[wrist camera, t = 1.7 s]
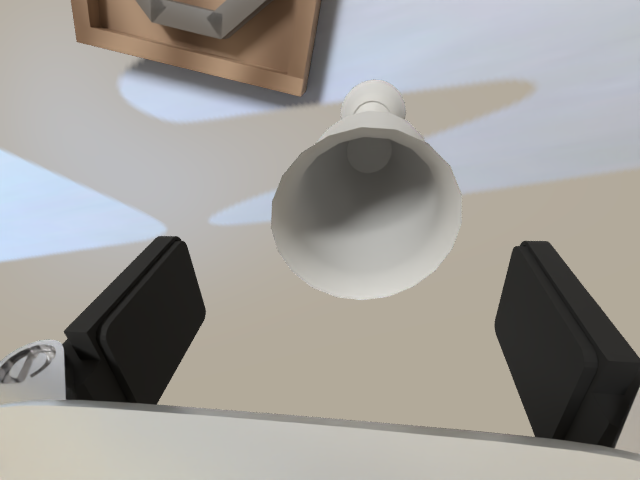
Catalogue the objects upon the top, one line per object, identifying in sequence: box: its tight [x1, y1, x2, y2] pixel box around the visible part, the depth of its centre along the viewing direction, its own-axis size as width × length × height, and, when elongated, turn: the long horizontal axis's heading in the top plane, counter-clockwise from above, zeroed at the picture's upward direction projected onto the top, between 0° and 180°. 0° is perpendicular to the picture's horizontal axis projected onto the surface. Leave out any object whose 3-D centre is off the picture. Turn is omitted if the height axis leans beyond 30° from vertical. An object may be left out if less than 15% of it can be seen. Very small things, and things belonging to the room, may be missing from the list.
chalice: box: [271, 80, 462, 300], centre depth 21 cm, size 7×7×18 cm
